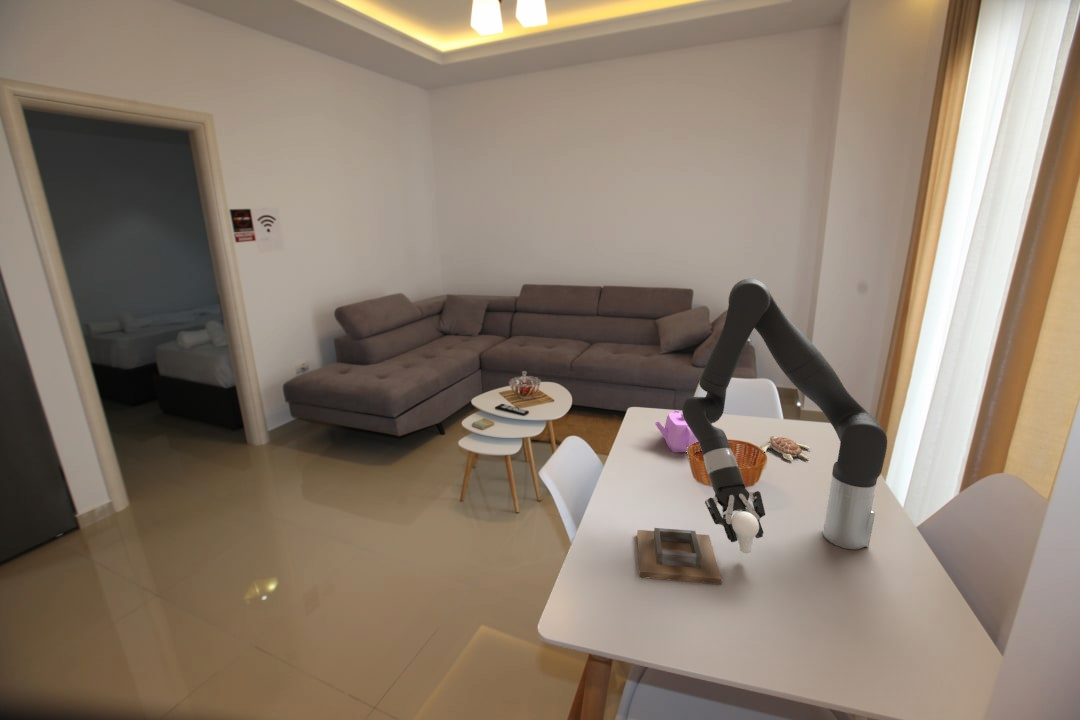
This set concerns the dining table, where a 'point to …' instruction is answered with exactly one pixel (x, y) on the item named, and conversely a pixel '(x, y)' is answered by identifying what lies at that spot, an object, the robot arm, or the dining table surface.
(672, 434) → the teakettle
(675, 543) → the bulb holder
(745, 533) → the lightbulb
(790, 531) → the dining table surface
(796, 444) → the decorative turtle
